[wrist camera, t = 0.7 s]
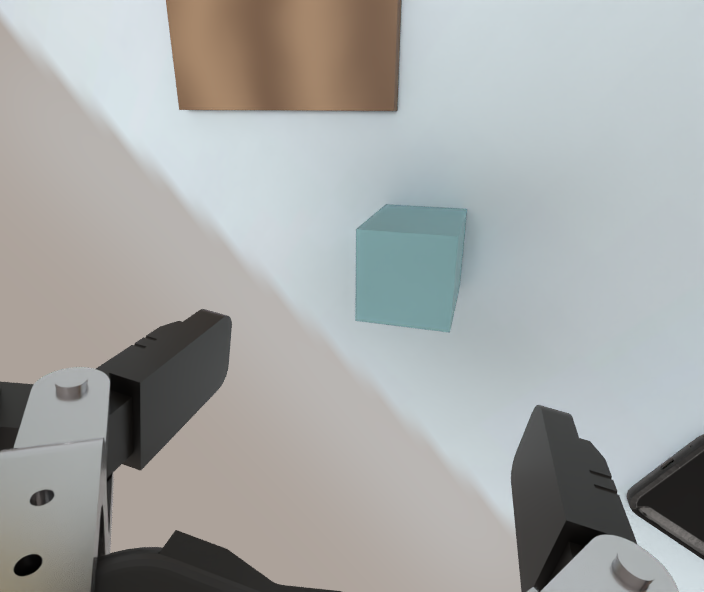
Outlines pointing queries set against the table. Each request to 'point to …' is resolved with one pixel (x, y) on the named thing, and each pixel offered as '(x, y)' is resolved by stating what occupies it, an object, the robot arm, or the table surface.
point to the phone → (675, 497)
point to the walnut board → (286, 54)
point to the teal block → (410, 266)
